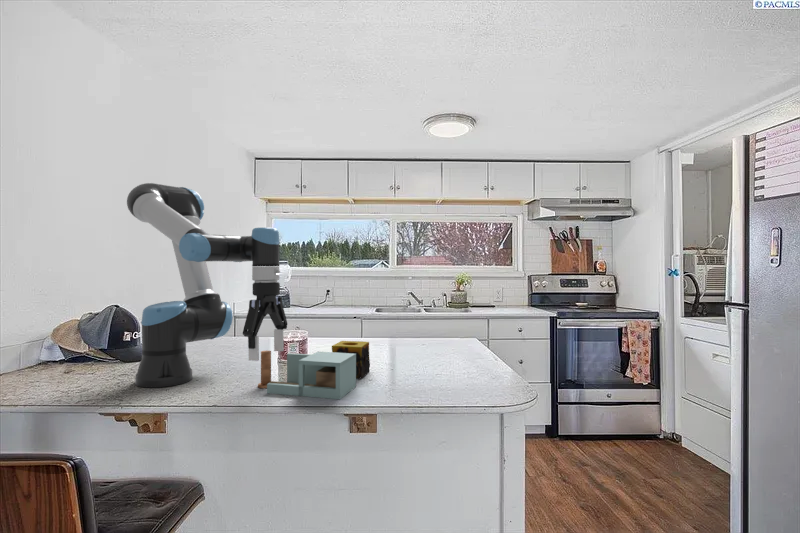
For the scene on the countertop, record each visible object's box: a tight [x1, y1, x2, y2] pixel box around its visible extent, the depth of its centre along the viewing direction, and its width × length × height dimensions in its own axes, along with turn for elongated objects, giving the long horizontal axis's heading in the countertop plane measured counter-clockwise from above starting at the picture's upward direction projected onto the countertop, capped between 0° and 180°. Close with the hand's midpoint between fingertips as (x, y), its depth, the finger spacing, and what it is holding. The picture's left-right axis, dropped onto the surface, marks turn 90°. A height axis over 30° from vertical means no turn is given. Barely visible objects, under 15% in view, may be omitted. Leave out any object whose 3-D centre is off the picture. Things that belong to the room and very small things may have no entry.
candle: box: [331, 340, 371, 380], centre depth 143 cm, size 10×10×10 cm
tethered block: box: [257, 349, 336, 389], centre depth 127 cm, size 25×6×10 cm, turn 76°
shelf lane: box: [266, 351, 357, 400], centre depth 126 cm, size 21×12×10 cm, turn 76°
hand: (267, 355), depth 129 cm, fingers open, 13 cm apart
